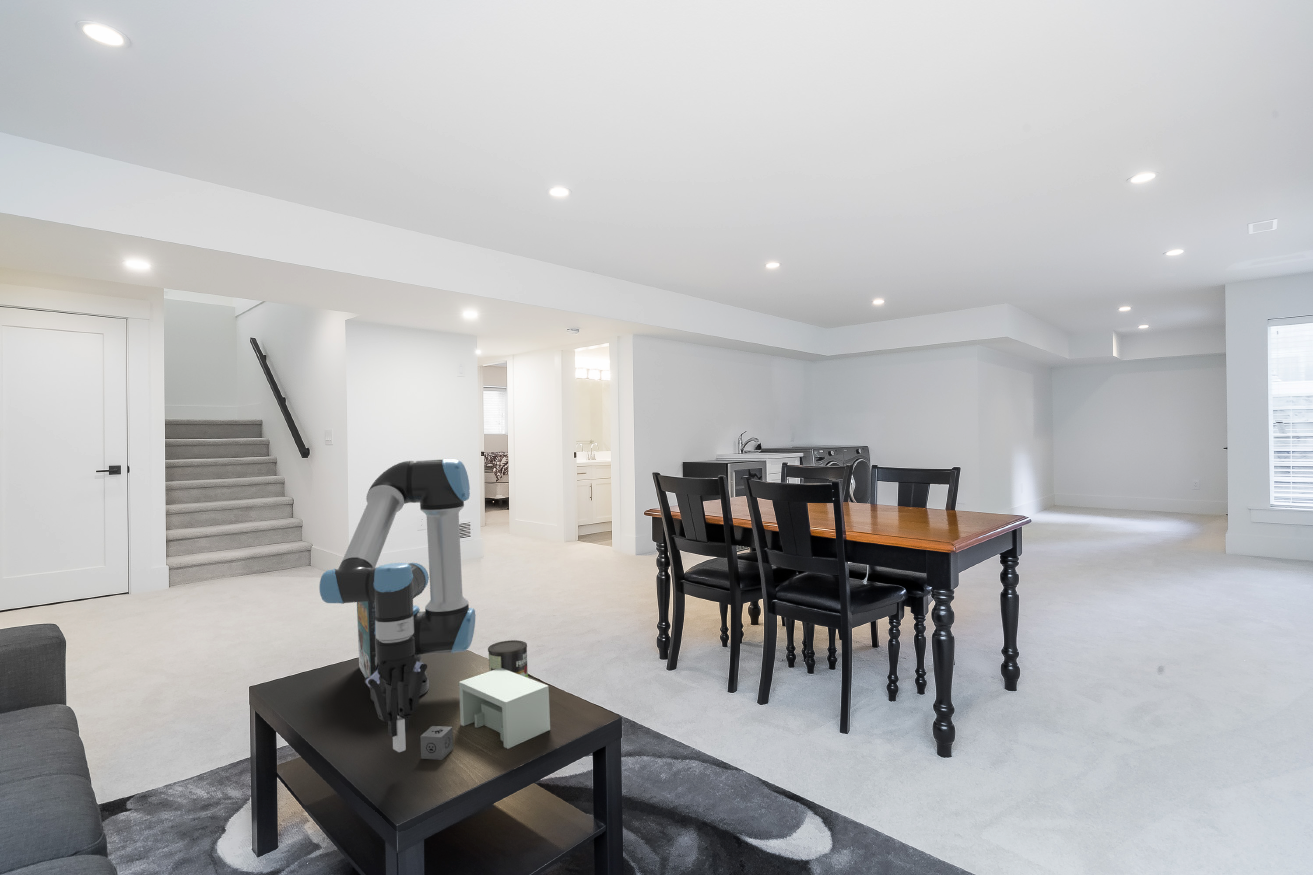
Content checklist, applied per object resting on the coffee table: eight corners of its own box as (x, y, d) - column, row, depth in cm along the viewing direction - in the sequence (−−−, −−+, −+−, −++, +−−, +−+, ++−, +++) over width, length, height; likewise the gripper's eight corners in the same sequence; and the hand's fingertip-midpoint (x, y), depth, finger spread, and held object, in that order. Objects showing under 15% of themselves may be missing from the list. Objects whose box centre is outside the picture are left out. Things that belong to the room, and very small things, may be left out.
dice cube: (442, 759, 142) (441, 737, 142) (421, 758, 143) (420, 736, 143) (453, 748, 147) (452, 726, 147) (432, 747, 148) (432, 725, 148)
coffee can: (534, 691, 178) (532, 640, 178) (519, 706, 168) (517, 652, 168) (500, 689, 180) (498, 639, 180) (483, 705, 170) (480, 651, 170)
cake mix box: (393, 683, 188) (389, 580, 188) (371, 688, 185) (367, 583, 185) (379, 662, 207) (376, 568, 206) (359, 666, 203) (355, 571, 203)
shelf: (460, 724, 159) (458, 681, 159) (502, 707, 168) (500, 667, 168) (507, 748, 145) (505, 702, 145) (550, 729, 154) (548, 685, 154)
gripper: (372, 648, 130) (376, 766, 130) (432, 633, 140) (436, 742, 139) (356, 642, 135) (360, 755, 135) (416, 627, 145) (419, 733, 144)
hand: (399, 749), depth 137 cm, fingers closed
